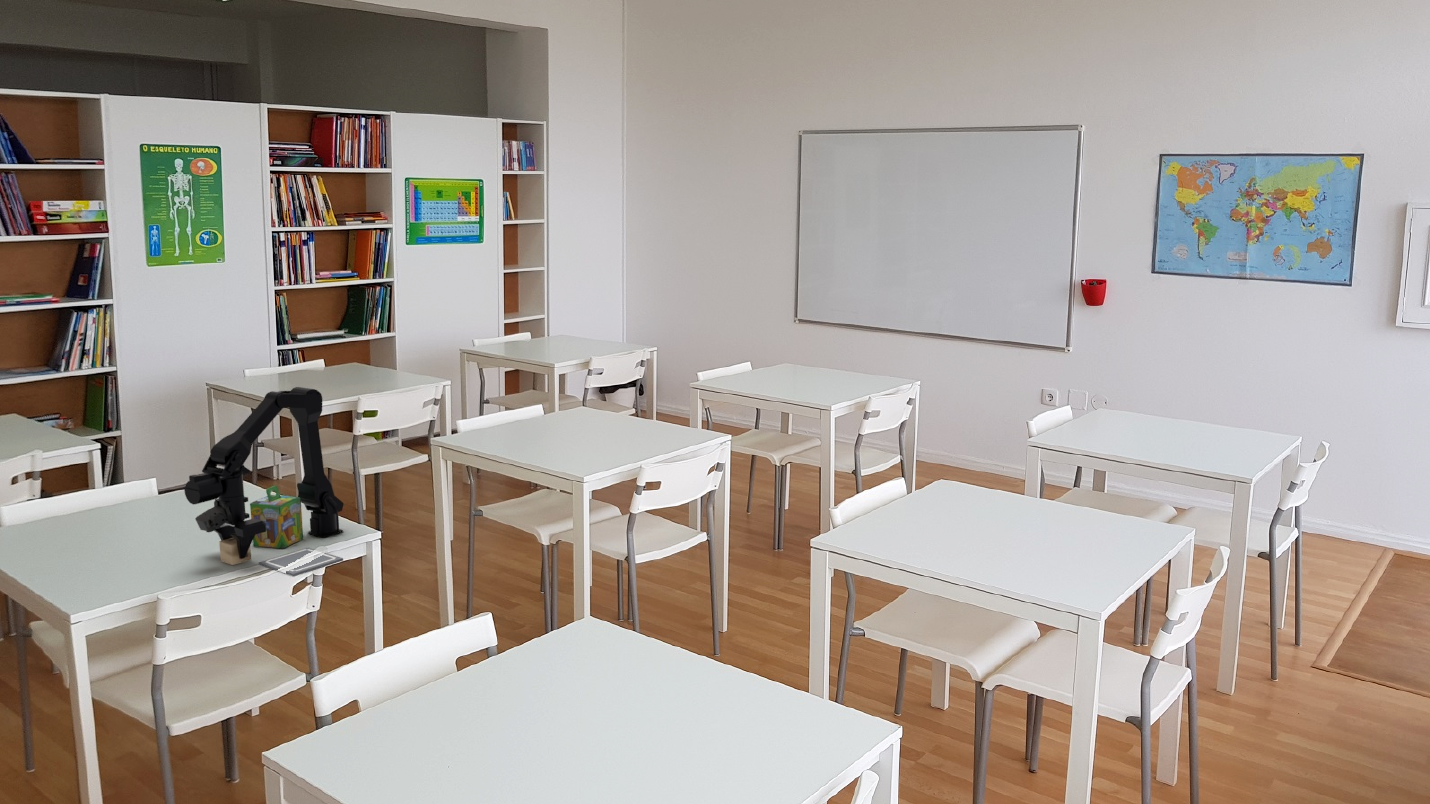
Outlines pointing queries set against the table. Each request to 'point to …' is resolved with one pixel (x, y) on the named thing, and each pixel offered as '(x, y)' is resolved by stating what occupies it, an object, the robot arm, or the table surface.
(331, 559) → the slate pad
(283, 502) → the chalk box
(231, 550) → the letter cube
